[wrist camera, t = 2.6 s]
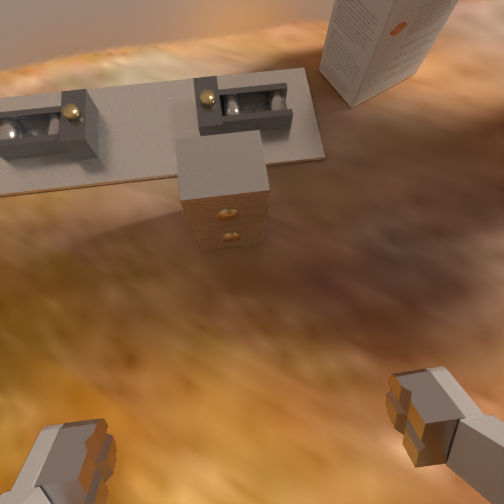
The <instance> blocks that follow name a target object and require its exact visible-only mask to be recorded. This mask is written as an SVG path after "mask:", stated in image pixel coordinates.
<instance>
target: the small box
mask: <svg viewBox="0 0 504 504" xmlns="http://www.w3.org/2000/svg"><path fill="white" fill-rule="evenodd" d="M457 2H458V0H335V2H334V6H333V11H332V15H331V19H330V23H329V27H328V31H327V36H326V40H325V44H324V49H323V53H322V57H321V61H320V66H319V71H320V72H321V73H322V75H323V76H324V77H325V78H326V79H327V80H328V82H329V83H330V84H331V85H332V86H333V87H334V89H335V90H336V91H337V92H338V93H339V94H340V96H341V97H342V98H343V99H344V100H345V102H346V103H347V104H348V105H349V106H350V107H351V108H353V107H355V106H357V105H359V104H361V103H362V102H364V101H366V100H368V99H370V98H372V97H374V96H375V95H377V94H379V93H381V92H383V91H384V90H386V89H388V88H390V87H392V86H394V85H396V84H397V83H399V82H401V81H403V80H405V79H407V78H408V77H410V76H412V75H414V74H415V73H416V72H417V70H418V69H419V67H420V65H421V64H422V62H423V60H424V58H425V57H426V55H427V54H428V52H429V50H430V48H431V47H432V45H433V43H434V42H435V40H436V38H437V36H438V35H439V33H440V31H441V30H442V28H443V26H444V25H445V23H446V21H447V19H448V18H449V16H450V14H451V12H452V11H453V9H454V7H455V6H456V4H457Z"/></svg>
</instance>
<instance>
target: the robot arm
mask: <svg viewBox="0 0 504 504" xmlns="http://www.w3.org/2000/svg"><path fill="white" fill-rule="evenodd" d="M388 385H389V386H390V388H391V390H390V391H389V392H388V393H387V394H386V407H387V412H388V415H389V418H390V420H391V422H392V424H393V426H394V428H395V429H396V430H398V431H399V432H400V433H402V434H403V435H404V438H403V445H404V447H405V449H406V451H407V453H408V455H409V457H410V459H411V460H412V462H413V464H414V466H415V468H416V467H423V466H430V465H438V464H445V463H447V464H446V465H447V466H448V467H449V468H450V469H451V470H453V471H454V472H455V473H456V474H457V475H458V476H460V477H461V478H462V479H463V480H464V481H466V482H467V483H468V484H469V485H470V486H472V487H473V488H474V489H475V490H476V491H477V492H479V493H480V494H481V495H482V496H483V497H485V498H486V499H487V500H488V501H489V502H491V503H492V504H504V422H502V421H500V420H499V419H497V418H495V417H493V416H492V415H484V414H483V413H482V411H481V410H480V409H479V408H478V406H477V405H476V404H475V403H474V402H473V400H472V399H471V398H470V397H469V396H468V394H467V393H466V392H465V391H464V389H463V388H462V387H461V386H460V385H459V383H458V382H457V381H456V380H455V379H454V377H453V376H452V375H451V374H450V373H449V371H448V370H447V369H446V368H444V367H443V366H442V367H435V368H429V369H420V370H414V371H408V372H401V373H395V374H391V375H390V376H389V380H388ZM107 428H108V425H107V423H106V421H105V419H95V420H87V421H79V422H71V423H63V424H56V425H49V426H45V427H44V428H43V429H42V430H41V431H40V433H39V435H38V437H37V439H36V441H35V443H34V445H33V447H32V449H31V451H30V453H29V455H28V457H27V459H26V461H25V463H24V465H23V467H22V469H21V471H20V473H19V475H18V477H17V479H16V481H15V483H14V485H13V487H12V489H11V491H8V492H4V493H3V494H2V495H1V496H0V504H105V503H106V500H107V496H108V492H109V491H108V489H107V486H106V484H105V483H106V481H107V480H108V479H109V478H110V476H111V475H112V474H113V472H114V468H115V464H116V451H117V450H116V444H115V440H114V438H113V436H111V435H109V434H108V433H106V432H107Z"/></svg>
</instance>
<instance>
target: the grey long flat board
mask: <svg viewBox="0 0 504 504" xmlns="http://www.w3.org/2000/svg"><path fill="white" fill-rule="evenodd" d="M254 130H260V135H261V141H262V146H263V152H264V158H265V164H266V166H272V165H281V164H290V163H298V162H307V161H316V160H324V159H325V153H324V149H323V145H322V141H321V136H320V132H319V128H318V123H317V119H316V115H315V111H314V106H313V102H312V98H311V94H310V89H309V85H308V81H307V77H306V72H305V68H294V69H284V70H274V71H264V72H254V73H244V74H234V75H225V76H211V77H201V78H193V79H185V80H175V81H165V82H155V83H145V84H135V85H125V86H115V87H105V88H95V89H81V90H71V91H62V92H56V93H46V94H36V95H26V96H16V97H6V98H0V197H3V196H12V195H21V194H29V193H38V192H47V191H55V190H64V189H73V188H81V187H90V186H99V185H107V184H116V183H125V182H133V181H142V180H151V179H159V178H168V177H177V176H178V170H177V157H176V145H175V139H181V138H190V137H199V136H209V135H218V134H227V133H236V132H245V131H254Z"/></svg>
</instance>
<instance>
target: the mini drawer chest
mask: <svg viewBox="0 0 504 504" xmlns="http://www.w3.org/2000/svg"><path fill="white" fill-rule="evenodd" d="M175 145H176V157H177V170H178V182H179V195H180V202H181V204H182V206H183V209H184V211H185V213H186V216H187V218H188V220H189V223H190V225H191V227H192V230H193V232H194V234H195V237H196V239H197V241H198V244H199V246H200V248H201V251H205V250H213V249H221V248H229V247H237V246H245V245H252V244H260V243H263V240H264V233H265V225H266V217H267V209H268V202H269V194H270V187H269V181H268V175H267V170H266V164H265V158H264V152H263V146H262V141H261V135H260V130H254V131H245V132H236V133H227V134H218V135H209V136H199V137H190V138H181V139H175Z"/></svg>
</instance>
